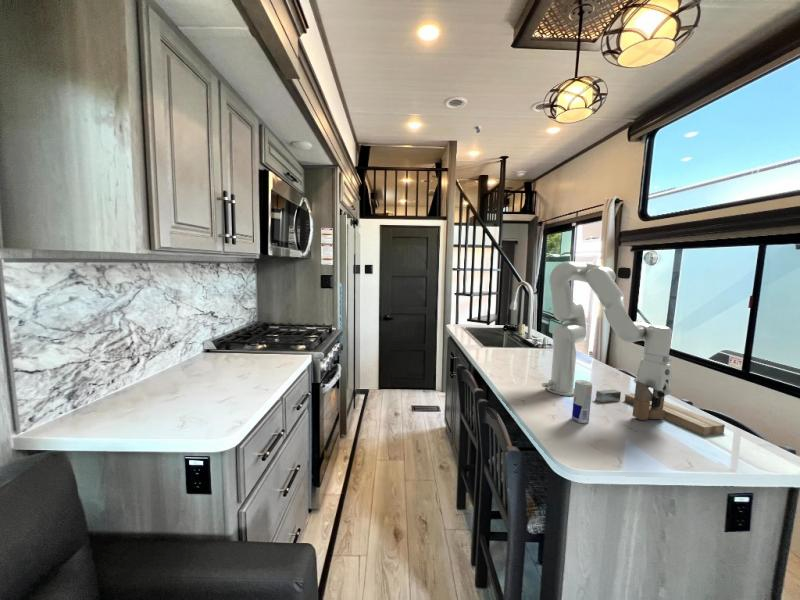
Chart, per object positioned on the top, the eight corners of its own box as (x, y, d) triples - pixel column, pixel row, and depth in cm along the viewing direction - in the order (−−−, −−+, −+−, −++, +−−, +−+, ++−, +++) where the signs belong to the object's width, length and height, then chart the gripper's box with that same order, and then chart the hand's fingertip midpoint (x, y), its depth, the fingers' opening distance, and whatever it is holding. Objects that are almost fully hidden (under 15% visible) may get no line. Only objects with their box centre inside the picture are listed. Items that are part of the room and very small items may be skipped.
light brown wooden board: (703, 435, 114) (704, 427, 114) (624, 400, 143) (625, 394, 143) (723, 432, 117) (724, 424, 116) (642, 399, 145) (643, 392, 145)
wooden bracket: (631, 415, 127) (637, 370, 125) (655, 414, 128) (661, 370, 126) (640, 420, 123) (645, 374, 121) (664, 419, 125) (670, 373, 123)
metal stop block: (601, 402, 140) (602, 393, 140) (595, 399, 143) (596, 390, 143) (620, 400, 143) (620, 391, 142) (613, 398, 146) (614, 389, 145)
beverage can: (587, 418, 124) (590, 380, 123) (590, 425, 119) (594, 385, 117) (570, 416, 126) (574, 378, 124) (573, 422, 121) (576, 383, 119)
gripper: (687, 364, 116) (680, 413, 118) (641, 351, 132) (636, 395, 134) (671, 365, 114) (664, 415, 116) (627, 352, 130) (622, 396, 132)
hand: (649, 404), depth 125 cm, fingers closed on wooden bracket, 3 cm apart
